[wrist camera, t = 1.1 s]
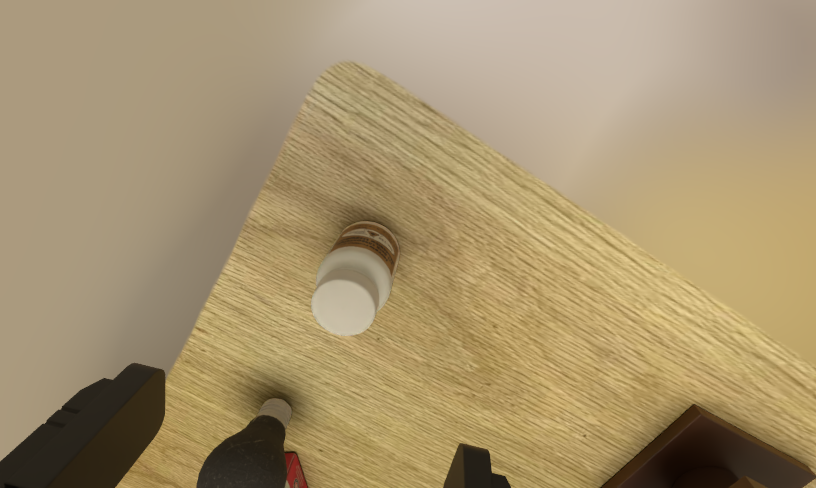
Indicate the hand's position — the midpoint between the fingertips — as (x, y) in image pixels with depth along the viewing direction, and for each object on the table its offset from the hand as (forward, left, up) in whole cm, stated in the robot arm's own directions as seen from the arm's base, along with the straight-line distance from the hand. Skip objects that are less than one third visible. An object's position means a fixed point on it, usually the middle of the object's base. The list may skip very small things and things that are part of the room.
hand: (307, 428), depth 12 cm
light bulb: (+19, 0, -19) cm, 27 cm away
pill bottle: (+3, 0, -19) cm, 19 cm away
